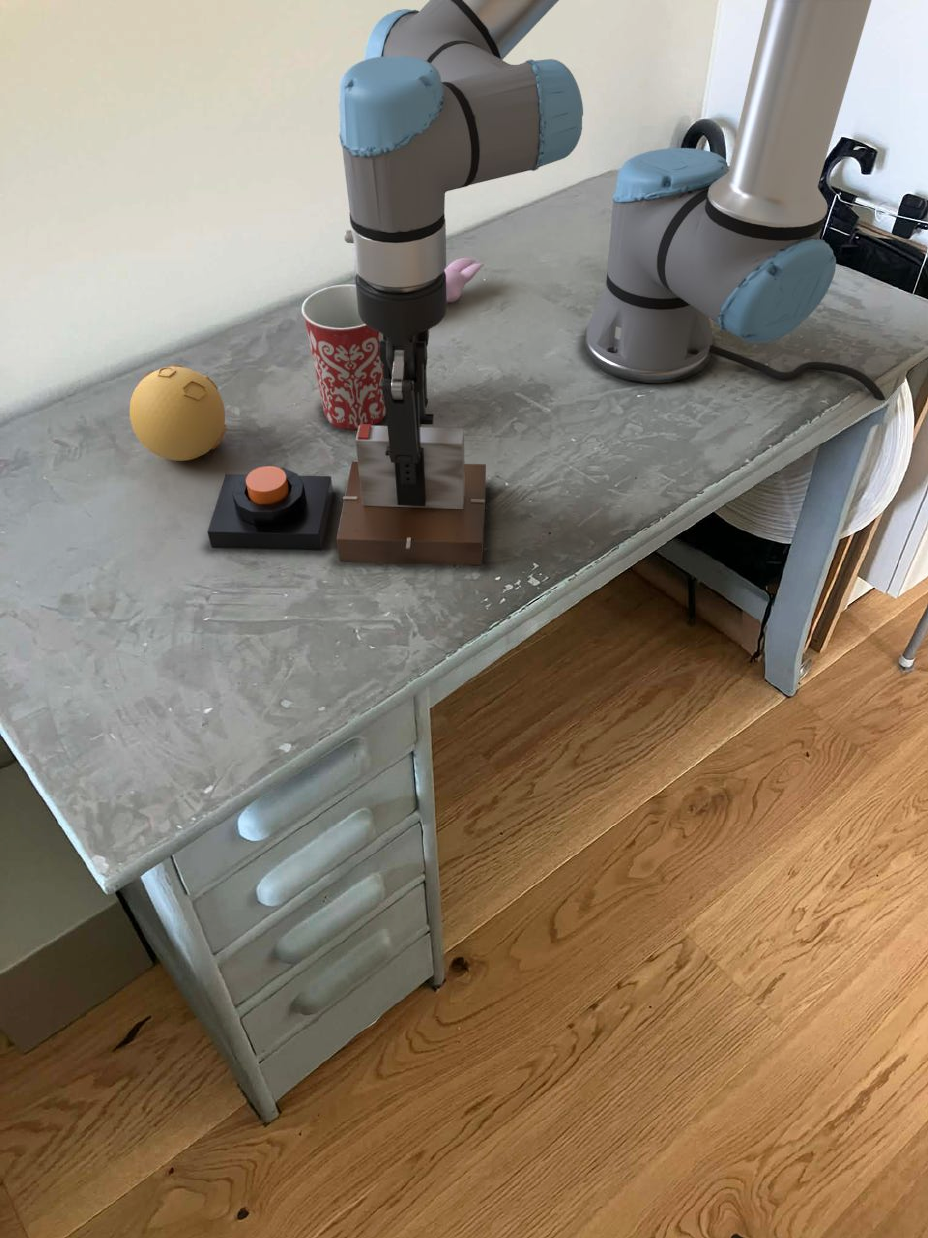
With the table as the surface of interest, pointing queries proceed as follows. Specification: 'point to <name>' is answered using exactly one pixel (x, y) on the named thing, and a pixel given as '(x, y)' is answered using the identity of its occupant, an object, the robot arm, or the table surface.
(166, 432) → the stress ball
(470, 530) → the plate
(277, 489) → the button
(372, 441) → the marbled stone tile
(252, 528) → the button housing
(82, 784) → the table surface
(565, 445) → the table surface
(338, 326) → the mug
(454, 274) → the rabbit figure
